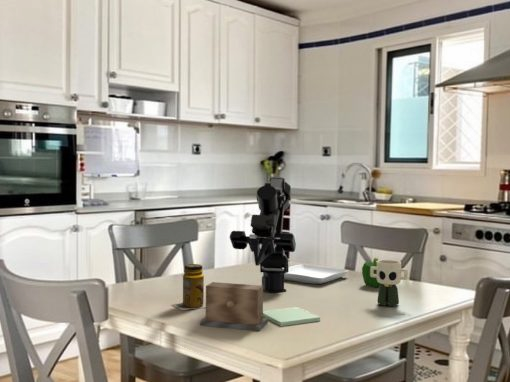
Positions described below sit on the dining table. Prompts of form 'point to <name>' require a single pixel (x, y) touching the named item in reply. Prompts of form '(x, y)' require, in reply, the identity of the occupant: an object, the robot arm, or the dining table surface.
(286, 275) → the salad plate
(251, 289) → the walnut unit
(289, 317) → the sage pad
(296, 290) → the dining table surface
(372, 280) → the bell pepper
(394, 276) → the character mug
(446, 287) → the dining table surface
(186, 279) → the condiment
